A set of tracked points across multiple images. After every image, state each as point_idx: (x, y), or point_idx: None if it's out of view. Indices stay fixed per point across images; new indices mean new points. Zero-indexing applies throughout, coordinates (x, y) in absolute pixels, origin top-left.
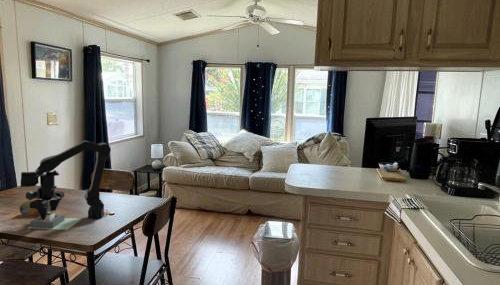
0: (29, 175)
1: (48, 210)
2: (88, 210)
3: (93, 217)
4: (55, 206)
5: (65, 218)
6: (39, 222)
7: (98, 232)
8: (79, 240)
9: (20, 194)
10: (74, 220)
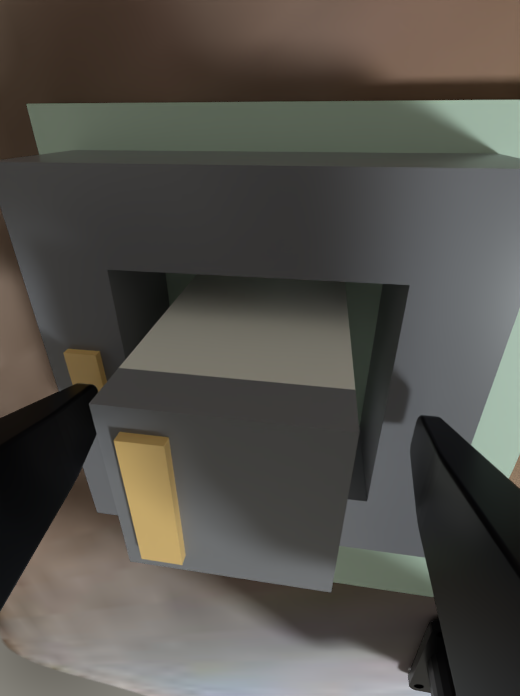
0: None
1: (328, 489)
2: None
3: (433, 684)
4: (466, 683)
5: (499, 466)
6: (54, 337)
7: (178, 669)
8: (35, 613)
9: None
10: (399, 558)
